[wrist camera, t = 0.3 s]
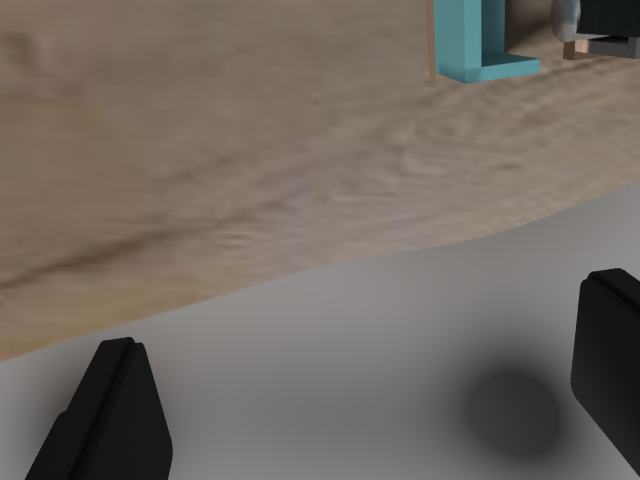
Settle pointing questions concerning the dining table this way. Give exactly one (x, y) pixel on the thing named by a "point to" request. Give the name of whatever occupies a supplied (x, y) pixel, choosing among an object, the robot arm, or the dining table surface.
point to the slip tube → (595, 19)
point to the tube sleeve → (602, 48)
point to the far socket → (472, 42)
